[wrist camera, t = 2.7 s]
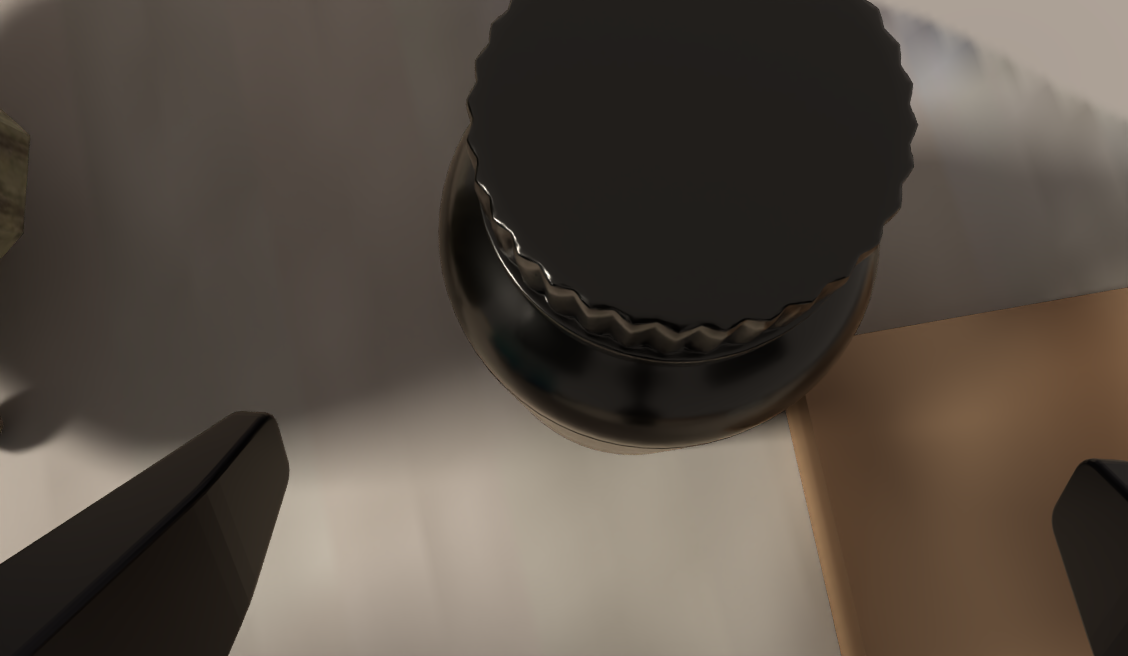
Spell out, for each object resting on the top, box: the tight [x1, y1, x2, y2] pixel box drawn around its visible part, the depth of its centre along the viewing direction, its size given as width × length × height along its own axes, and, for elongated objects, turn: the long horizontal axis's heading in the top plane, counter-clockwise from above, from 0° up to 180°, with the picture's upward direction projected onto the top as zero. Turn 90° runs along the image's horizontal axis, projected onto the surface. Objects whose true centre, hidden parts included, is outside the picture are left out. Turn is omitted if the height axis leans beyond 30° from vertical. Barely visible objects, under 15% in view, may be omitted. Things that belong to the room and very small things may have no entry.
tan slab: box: [785, 287, 1128, 656], centre depth 17 cm, size 11×11×2 cm
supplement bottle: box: [438, 0, 918, 455], centre depth 13 cm, size 7×7×12 cm
